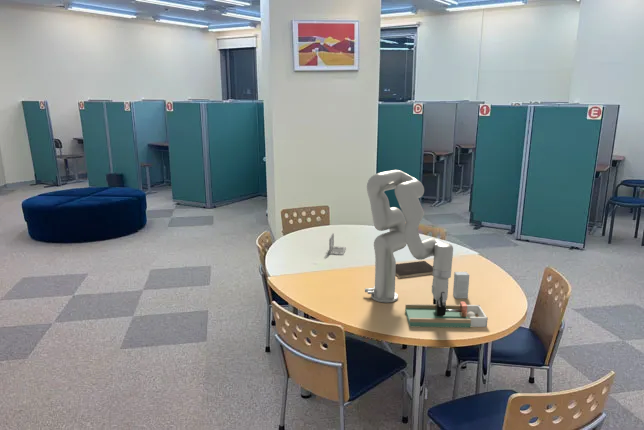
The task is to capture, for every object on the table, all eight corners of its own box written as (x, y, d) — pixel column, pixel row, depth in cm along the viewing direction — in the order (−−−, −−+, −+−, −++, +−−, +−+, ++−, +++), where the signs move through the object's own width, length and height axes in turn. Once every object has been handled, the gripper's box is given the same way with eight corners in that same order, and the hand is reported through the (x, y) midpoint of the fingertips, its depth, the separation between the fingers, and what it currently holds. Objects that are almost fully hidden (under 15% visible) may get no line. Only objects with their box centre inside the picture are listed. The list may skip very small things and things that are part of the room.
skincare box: (464, 294, 223) (466, 271, 220) (467, 298, 219) (469, 274, 216) (452, 294, 223) (454, 271, 219) (455, 298, 218) (456, 275, 215)
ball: (477, 320, 196) (469, 322, 197) (475, 316, 200) (467, 318, 200) (474, 312, 196) (466, 315, 196) (472, 309, 199) (464, 311, 200)
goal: (469, 326, 193) (470, 317, 192) (462, 313, 204) (463, 304, 203) (486, 326, 192) (487, 318, 191) (478, 313, 204) (479, 305, 203)
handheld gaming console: (343, 255, 277) (343, 239, 274) (328, 254, 279) (328, 238, 276) (346, 248, 289) (346, 233, 287) (331, 247, 291) (331, 232, 288)
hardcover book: (438, 274, 249) (438, 270, 248) (399, 279, 243) (399, 275, 242) (423, 264, 264) (424, 260, 263) (386, 268, 258) (386, 264, 257)
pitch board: (409, 326, 193) (409, 318, 192) (405, 311, 206) (405, 303, 205) (470, 327, 192) (471, 319, 191) (462, 312, 205) (462, 304, 204)
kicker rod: (436, 316, 196) (437, 301, 195) (434, 311, 201) (435, 296, 199) (466, 317, 196) (467, 301, 194) (463, 312, 200) (465, 297, 198)
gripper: (429, 264, 202) (426, 300, 207) (436, 280, 185) (433, 318, 190) (446, 264, 202) (443, 300, 206) (455, 280, 185) (452, 319, 190)
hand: (438, 309), depth 198 cm, fingers open, 9 cm apart
